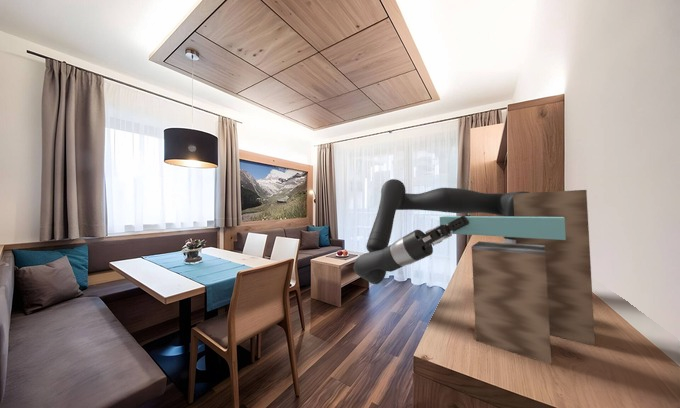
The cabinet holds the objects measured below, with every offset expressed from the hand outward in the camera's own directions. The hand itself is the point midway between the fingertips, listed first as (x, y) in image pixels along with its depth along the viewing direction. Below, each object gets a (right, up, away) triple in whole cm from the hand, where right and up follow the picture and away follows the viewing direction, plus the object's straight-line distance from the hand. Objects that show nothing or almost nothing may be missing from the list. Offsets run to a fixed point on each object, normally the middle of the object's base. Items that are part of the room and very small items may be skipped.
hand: (468, 218), depth 53 cm
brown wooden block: (+6, -26, -5) cm, 27 cm away
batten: (+4, -3, -3) cm, 6 cm away
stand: (+19, -26, -1) cm, 32 cm away
